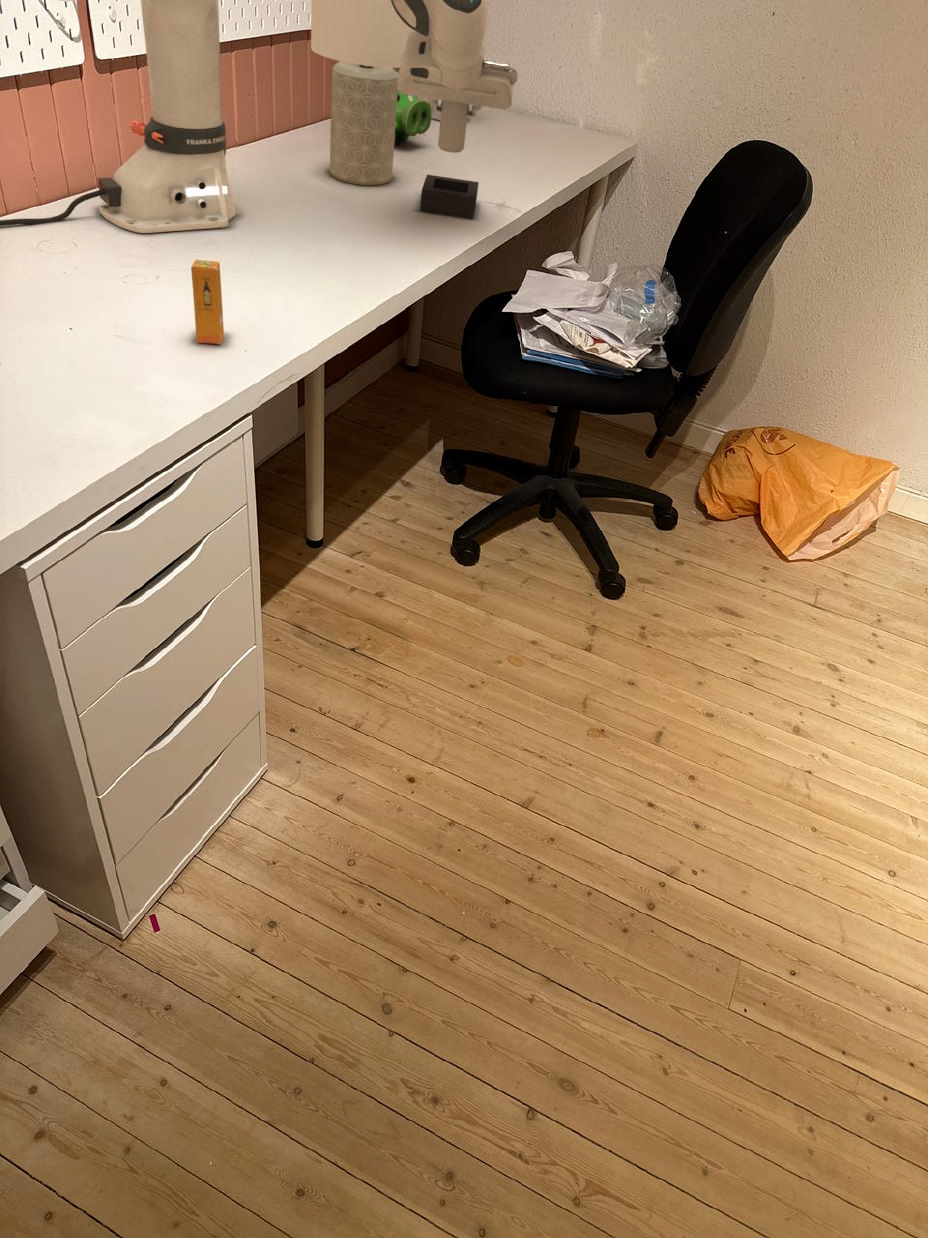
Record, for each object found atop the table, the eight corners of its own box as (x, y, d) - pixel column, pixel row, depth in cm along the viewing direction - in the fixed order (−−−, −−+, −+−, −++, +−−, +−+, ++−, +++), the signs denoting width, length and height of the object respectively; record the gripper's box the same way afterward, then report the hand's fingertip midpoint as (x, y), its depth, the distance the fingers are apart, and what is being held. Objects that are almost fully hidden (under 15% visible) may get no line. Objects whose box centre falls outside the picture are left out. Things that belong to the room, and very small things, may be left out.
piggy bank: (398, 154, 203) (404, 77, 193) (333, 134, 209) (335, 58, 199) (434, 145, 213) (440, 71, 203) (370, 126, 219) (374, 53, 209)
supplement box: (225, 334, 124) (221, 260, 118) (221, 345, 122) (217, 269, 115) (200, 332, 124) (195, 257, 118) (195, 343, 121) (189, 267, 115)
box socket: (473, 218, 175) (475, 196, 172) (419, 211, 175) (421, 188, 172) (476, 203, 183) (478, 181, 180) (425, 195, 182) (426, 174, 180)
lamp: (400, 198, 179) (419, -66, 152) (296, 180, 180) (297, -86, 153) (420, 171, 195) (440, -72, 168) (325, 155, 196) (330, -90, 169)
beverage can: (460, 154, 168) (468, 80, 161) (435, 149, 169) (441, 75, 161) (465, 148, 172) (474, 75, 164) (440, 144, 172) (447, 71, 165)
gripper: (521, 49, 154) (513, 102, 167) (399, 30, 153) (401, 85, 167) (516, 84, 153) (509, 134, 167) (394, 66, 153) (397, 118, 166)
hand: (454, 110), depth 167 cm, fingers closed on beverage can, 5 cm apart
